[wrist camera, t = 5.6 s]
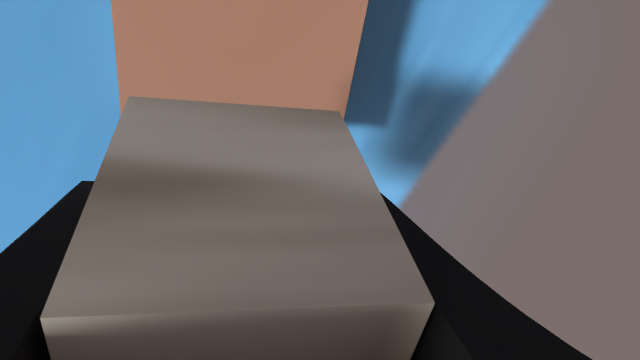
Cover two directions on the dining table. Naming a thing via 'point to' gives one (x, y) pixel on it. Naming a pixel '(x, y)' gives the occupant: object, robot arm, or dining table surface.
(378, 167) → the dining table surface
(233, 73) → the terracotta base
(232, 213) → the ash block
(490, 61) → the dining table surface
